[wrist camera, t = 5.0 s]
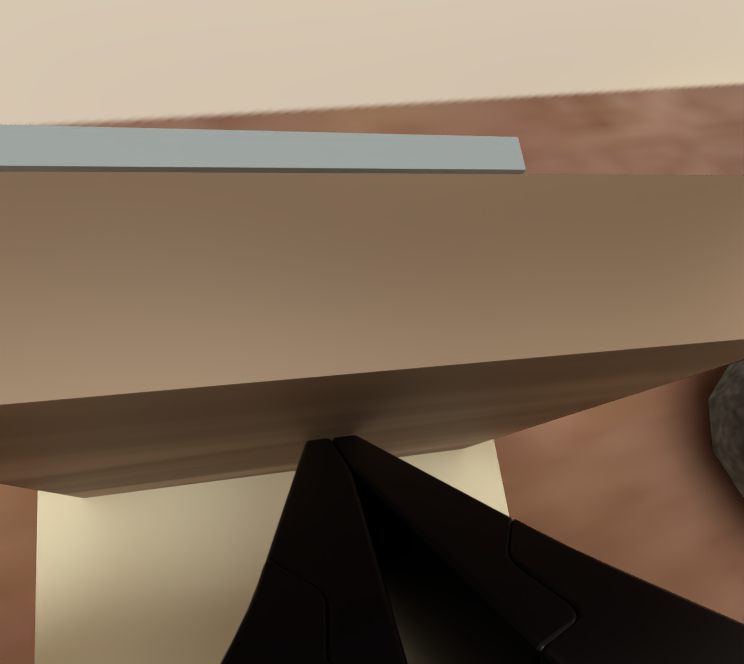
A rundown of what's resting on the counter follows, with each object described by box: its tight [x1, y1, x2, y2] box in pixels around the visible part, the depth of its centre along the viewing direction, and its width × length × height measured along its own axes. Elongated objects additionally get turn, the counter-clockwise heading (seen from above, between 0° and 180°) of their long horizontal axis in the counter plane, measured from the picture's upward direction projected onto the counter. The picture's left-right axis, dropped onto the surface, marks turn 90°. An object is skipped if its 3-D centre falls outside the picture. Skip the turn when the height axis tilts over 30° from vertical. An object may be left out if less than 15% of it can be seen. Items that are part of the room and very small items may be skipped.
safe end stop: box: [0, 125, 526, 174], centre depth 16 cm, size 1×13×6 cm, turn 99°
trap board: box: [35, 439, 509, 664], centre depth 16 cm, size 16×12×2 cm
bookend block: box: [0, 172, 744, 498], centre depth 11 cm, size 5×10×11 cm, turn 99°
